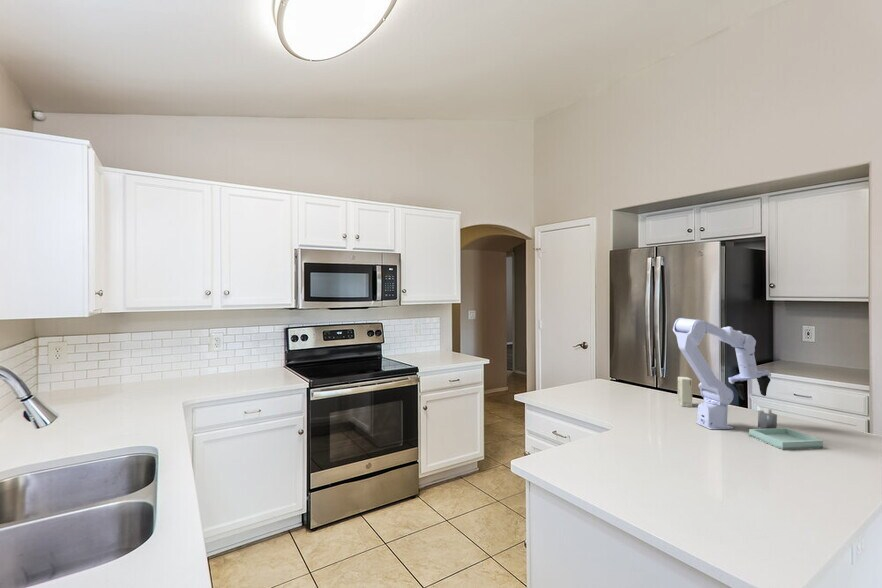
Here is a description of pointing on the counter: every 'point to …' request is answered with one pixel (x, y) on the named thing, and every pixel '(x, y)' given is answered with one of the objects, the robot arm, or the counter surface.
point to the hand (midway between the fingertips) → (753, 397)
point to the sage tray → (785, 438)
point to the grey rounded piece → (767, 419)
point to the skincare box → (685, 391)
